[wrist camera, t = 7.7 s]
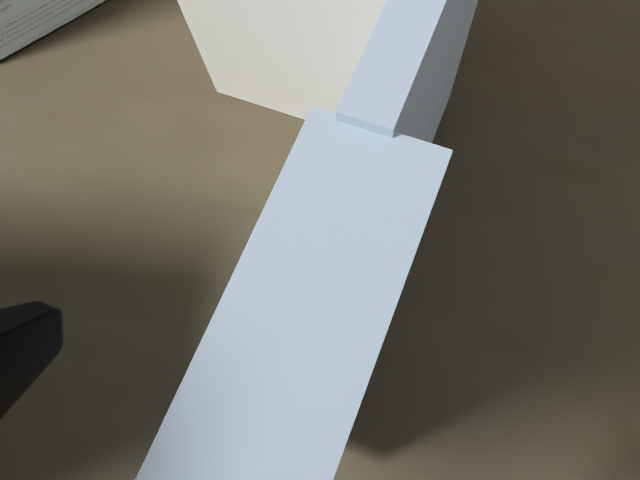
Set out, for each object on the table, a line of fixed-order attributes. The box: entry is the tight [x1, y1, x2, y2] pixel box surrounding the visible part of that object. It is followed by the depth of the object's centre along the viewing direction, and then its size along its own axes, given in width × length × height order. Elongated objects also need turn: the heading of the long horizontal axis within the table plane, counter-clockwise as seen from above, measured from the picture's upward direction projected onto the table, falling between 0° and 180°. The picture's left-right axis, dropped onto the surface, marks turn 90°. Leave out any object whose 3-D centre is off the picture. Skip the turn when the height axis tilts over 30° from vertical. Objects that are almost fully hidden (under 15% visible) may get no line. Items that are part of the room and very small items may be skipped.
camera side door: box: [135, 0, 478, 480], centre depth 12 cm, size 14×2×11 cm, turn 158°
